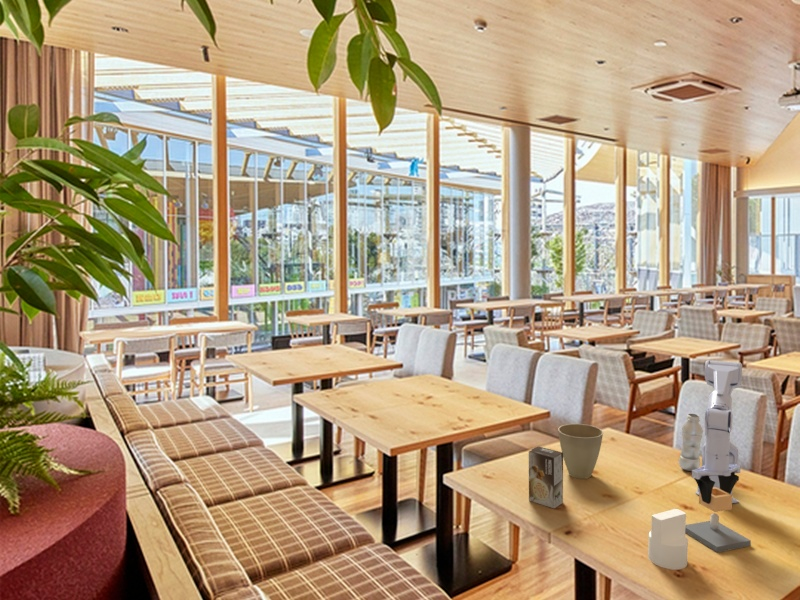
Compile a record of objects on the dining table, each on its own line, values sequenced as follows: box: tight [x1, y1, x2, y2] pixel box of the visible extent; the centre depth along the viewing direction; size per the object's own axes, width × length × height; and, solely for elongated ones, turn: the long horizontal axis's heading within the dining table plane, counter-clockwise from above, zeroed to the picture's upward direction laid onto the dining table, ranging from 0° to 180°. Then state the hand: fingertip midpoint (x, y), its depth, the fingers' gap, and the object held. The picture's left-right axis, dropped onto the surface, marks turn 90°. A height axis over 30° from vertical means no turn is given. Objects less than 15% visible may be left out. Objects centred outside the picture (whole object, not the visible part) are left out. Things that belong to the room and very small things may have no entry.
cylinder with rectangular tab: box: [647, 508, 689, 571], centre depth 145 cm, size 9×9×12 cm
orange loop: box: [698, 487, 733, 513], centre depth 158 cm, size 6×6×4 cm
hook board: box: [685, 512, 752, 553], centre depth 156 cm, size 12×11×6 cm
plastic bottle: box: [678, 413, 704, 472], centre depth 202 cm, size 6×7×20 cm
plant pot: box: [557, 423, 604, 480], centre depth 200 cm, size 15×15×16 cm
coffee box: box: [528, 446, 564, 509], centre depth 179 cm, size 9×6×16 cm
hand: (715, 500), depth 158 cm, fingers closed on orange loop, 6 cm apart
